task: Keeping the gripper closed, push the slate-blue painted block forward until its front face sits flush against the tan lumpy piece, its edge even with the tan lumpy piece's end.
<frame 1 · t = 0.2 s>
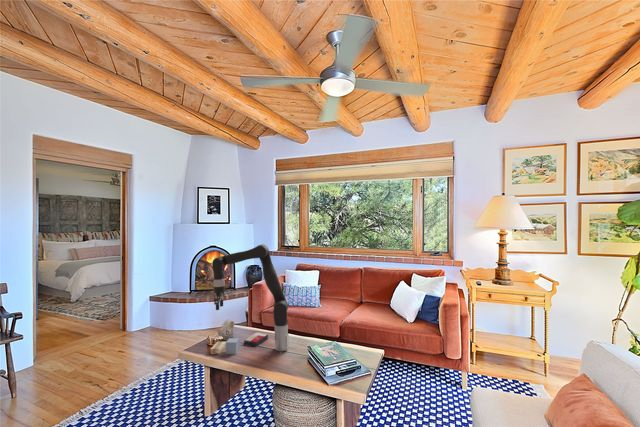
hand: (219, 308, 212), 28 cm above the table, fingers open, 8 cm apart
fossil: (226, 339, 229), on the table
block: (232, 352, 206), on the table
tan lumpy piece: (218, 350, 209), on the table
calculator: (256, 342, 223), on the table
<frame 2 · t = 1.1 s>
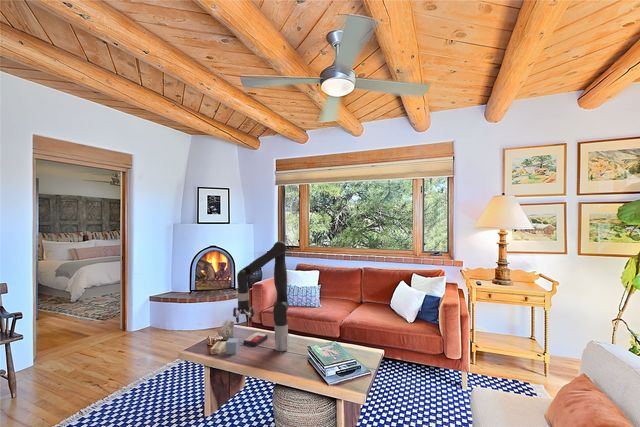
hand: (244, 322, 206), 20 cm above the table, fingers open, 8 cm apart
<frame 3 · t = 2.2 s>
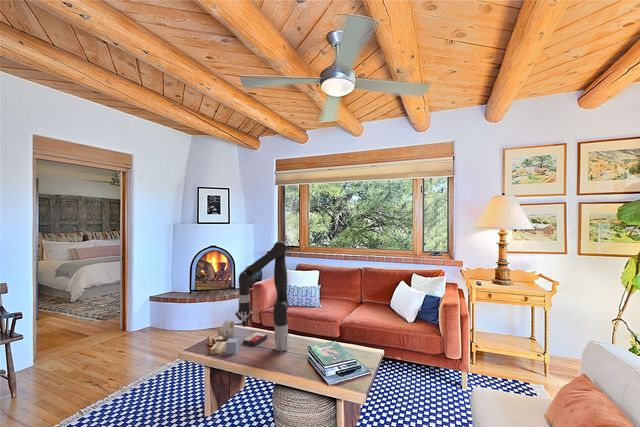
hand: (244, 326, 206), 18 cm above the table, fingers closed
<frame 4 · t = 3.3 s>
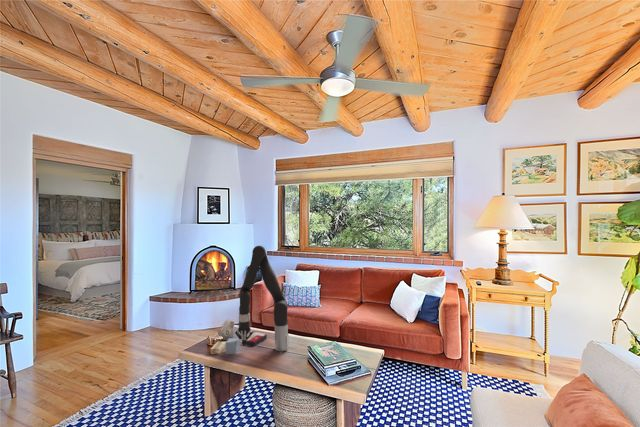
hand: (244, 345, 206), 5 cm above the table, fingers closed
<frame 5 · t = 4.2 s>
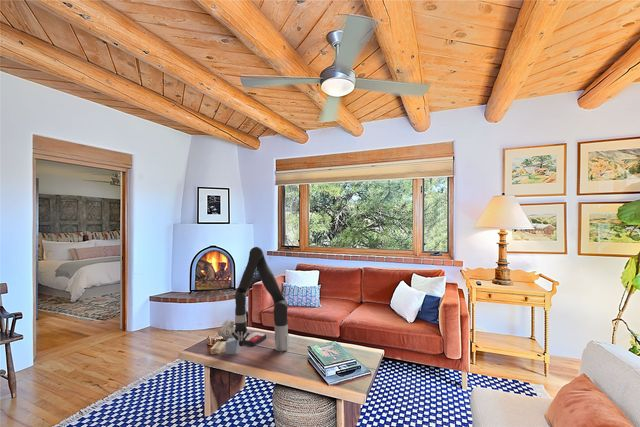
hand: (241, 345, 206), 4 cm above the table, fingers closed
block: (232, 351, 206), on the table, touching gripper
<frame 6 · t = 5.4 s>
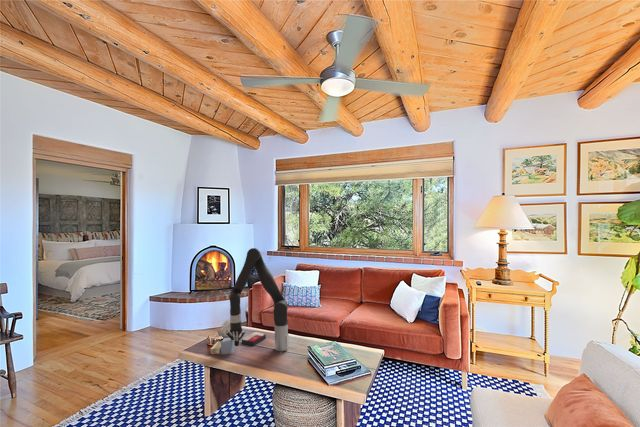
hand: (236, 345, 206), 4 cm above the table, fingers closed
block: (227, 351, 207), on the table, touching gripper
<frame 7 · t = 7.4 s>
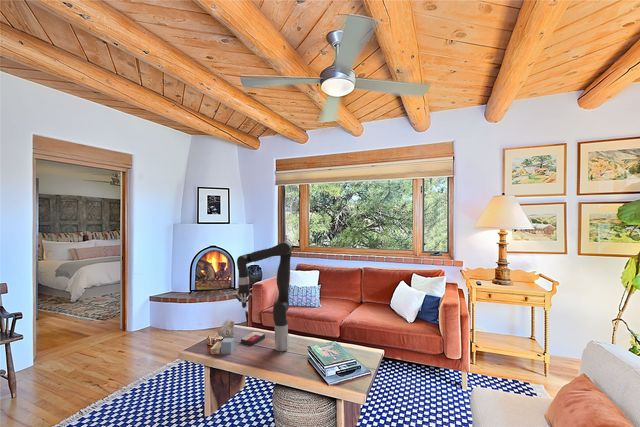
hand: (244, 307, 213), 29 cm above the table, fingers closed
block: (227, 351, 207), on the table
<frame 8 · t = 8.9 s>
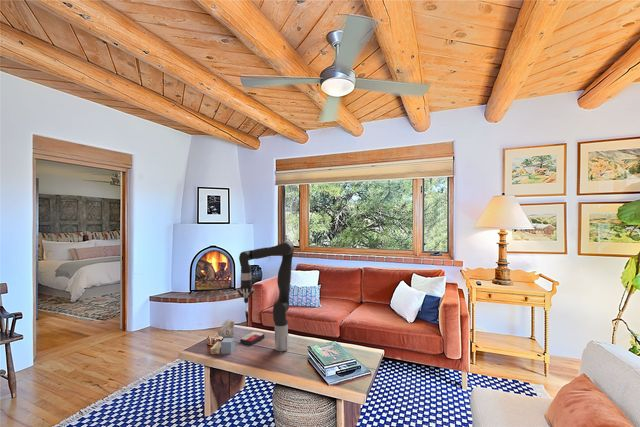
hand: (246, 302, 216), 31 cm above the table, fingers closed
at the end: block 0.4 cm from the target spot on the table beside the tan lumpy piece, on the table; block tilted 0° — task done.
